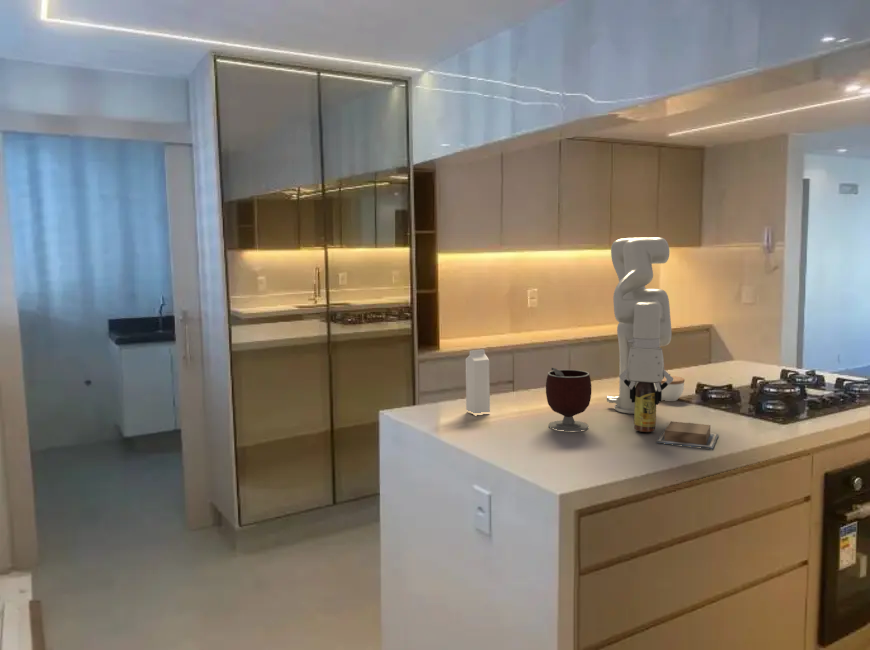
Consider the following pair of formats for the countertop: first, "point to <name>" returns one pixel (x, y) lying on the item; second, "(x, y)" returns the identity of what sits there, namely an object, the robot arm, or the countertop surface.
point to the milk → (477, 382)
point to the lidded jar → (672, 389)
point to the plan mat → (688, 435)
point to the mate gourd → (568, 397)
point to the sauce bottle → (645, 407)
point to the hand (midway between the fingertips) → (645, 402)
